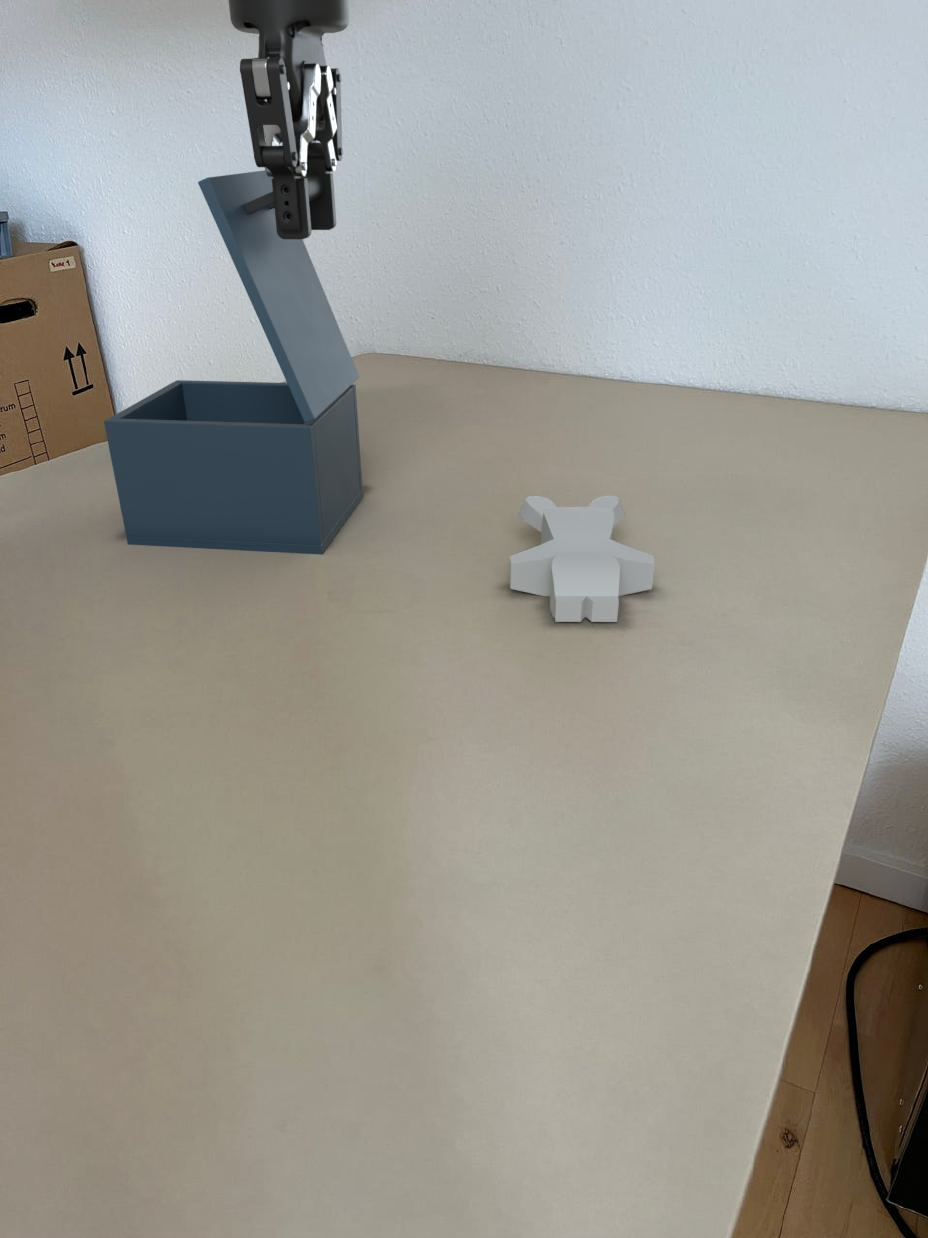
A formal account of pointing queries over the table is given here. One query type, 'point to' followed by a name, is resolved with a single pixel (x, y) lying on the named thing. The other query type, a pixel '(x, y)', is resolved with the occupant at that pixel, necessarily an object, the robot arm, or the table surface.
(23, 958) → the table surface
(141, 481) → the bin
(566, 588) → the white teddy bear figure
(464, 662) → the table surface
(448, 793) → the table surface
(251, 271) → the bin lid
